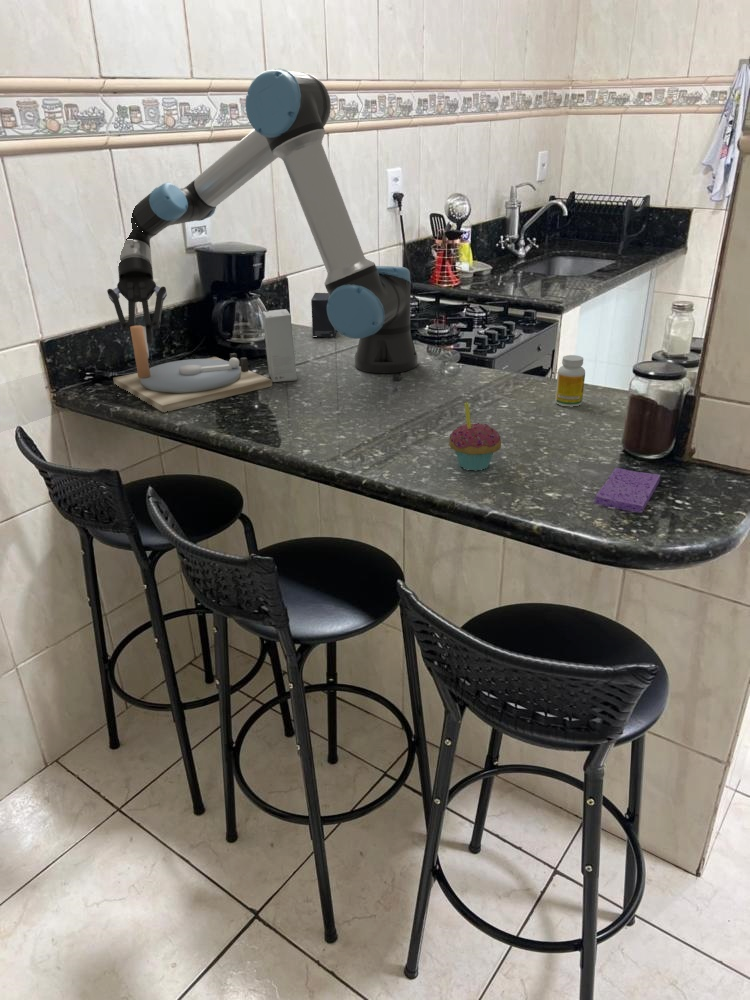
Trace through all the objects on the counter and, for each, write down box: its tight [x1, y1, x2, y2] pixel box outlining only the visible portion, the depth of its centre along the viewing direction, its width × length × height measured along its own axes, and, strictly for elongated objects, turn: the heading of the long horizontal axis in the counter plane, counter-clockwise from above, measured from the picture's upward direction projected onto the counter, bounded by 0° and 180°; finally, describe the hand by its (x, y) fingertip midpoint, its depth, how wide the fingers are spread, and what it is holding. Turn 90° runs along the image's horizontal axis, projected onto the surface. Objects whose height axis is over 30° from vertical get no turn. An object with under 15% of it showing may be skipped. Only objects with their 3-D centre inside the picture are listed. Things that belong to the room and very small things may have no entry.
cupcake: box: [448, 398, 502, 471], centre depth 121 cm, size 9×8×12 cm
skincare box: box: [262, 308, 298, 383], centre depth 168 cm, size 8×6×15 cm
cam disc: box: [130, 324, 241, 393], centre depth 163 cm, size 22×22×12 cm
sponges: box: [593, 467, 661, 514], centre depth 113 cm, size 7×13×2 cm, turn 150°
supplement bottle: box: [554, 354, 586, 408], centre depth 149 cm, size 5×5×10 cm
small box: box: [310, 292, 338, 338], centre depth 206 cm, size 11×6×10 cm, turn 179°
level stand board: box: [112, 352, 273, 413], centre depth 166 cm, size 26×26×4 cm
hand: (142, 355), depth 164 cm, fingers closed
